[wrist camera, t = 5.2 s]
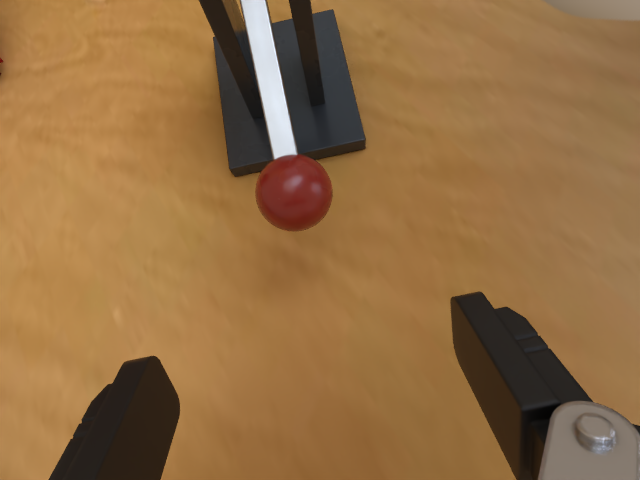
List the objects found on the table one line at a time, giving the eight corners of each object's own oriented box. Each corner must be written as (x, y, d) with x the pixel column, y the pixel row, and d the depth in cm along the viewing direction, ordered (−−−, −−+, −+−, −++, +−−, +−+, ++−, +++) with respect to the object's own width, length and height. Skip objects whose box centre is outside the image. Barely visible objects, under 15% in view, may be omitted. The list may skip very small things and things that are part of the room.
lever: (339, 222, 20) (340, 223, 16) (270, 236, 20) (257, 240, 16) (274, -92, 19) (261, -159, 16) (204, -75, 19) (176, -138, 16)
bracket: (365, 149, 27) (366, -55, 14) (234, 177, 27) (116, 5, 14) (334, 21, 30) (311, -238, 17) (218, 48, 31) (110, -186, 18)
